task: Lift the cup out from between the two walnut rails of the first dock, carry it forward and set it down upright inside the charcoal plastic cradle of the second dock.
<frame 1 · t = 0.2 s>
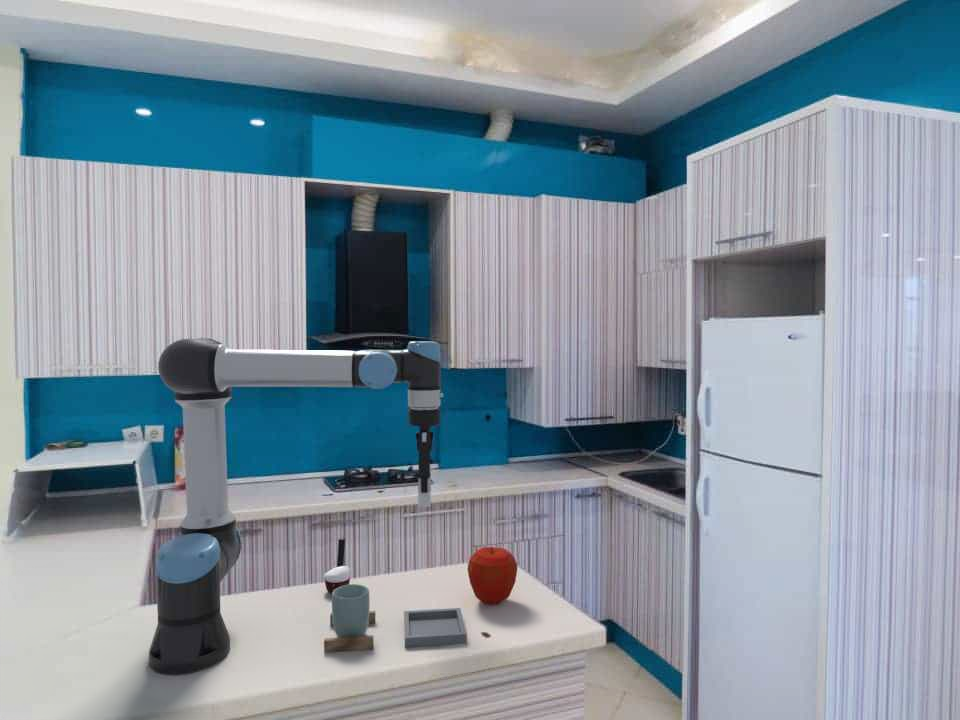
hand: (424, 498, 147), 27 cm above the counter, fingers open, 13 cm apart
cup: (351, 637, 137), on the counter
apple: (492, 603, 154), on the counter
dock b cradle: (434, 631, 140), on the counter
cocoa: (338, 592, 161), on the counter
dock a rails: (351, 636, 137), on the counter
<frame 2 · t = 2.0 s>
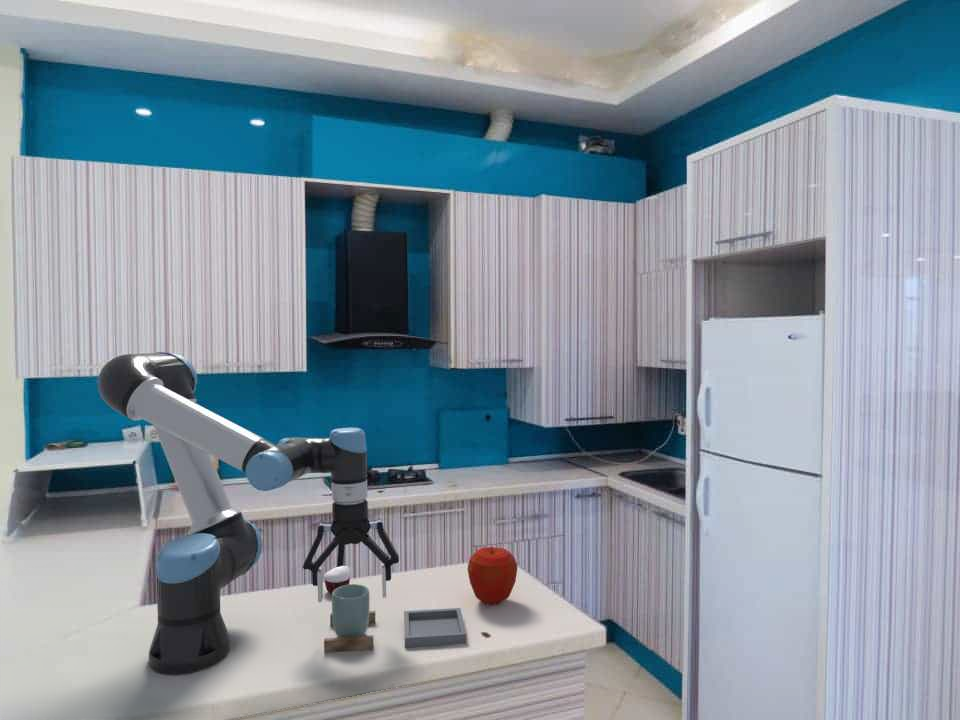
hand: (352, 597, 137), 9 cm above the counter, fingers open, 13 cm apart
nothing on the counter moved.
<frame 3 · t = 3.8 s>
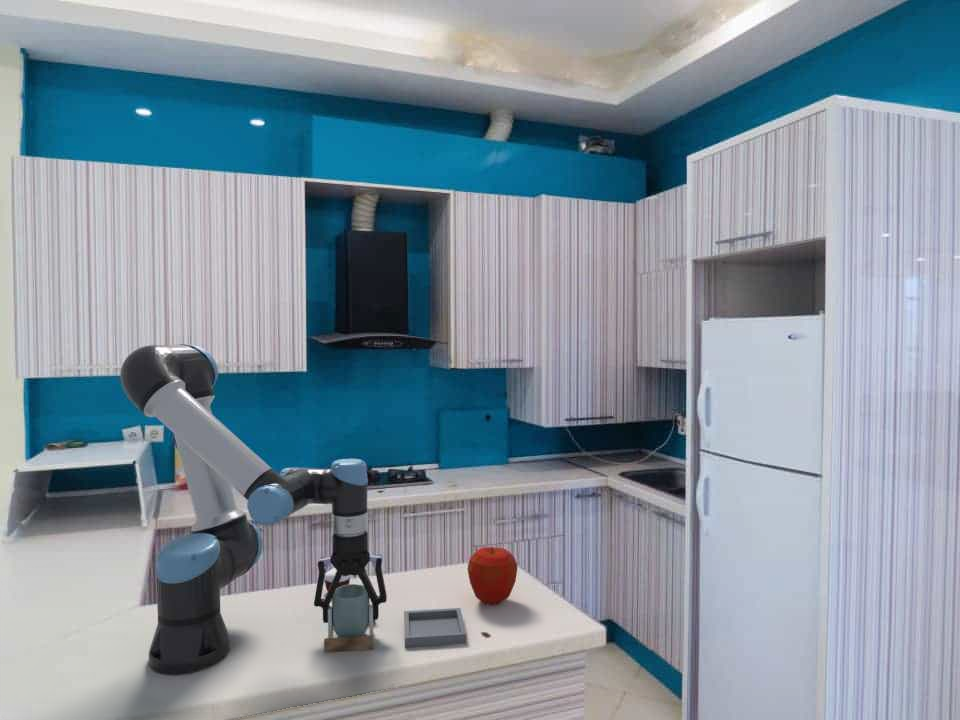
hand: (351, 635, 137), 0 cm above the counter, fingers closed on cup, 8 cm apart
cup: (351, 637, 137), on the counter, touching gripper
everything else where it was.
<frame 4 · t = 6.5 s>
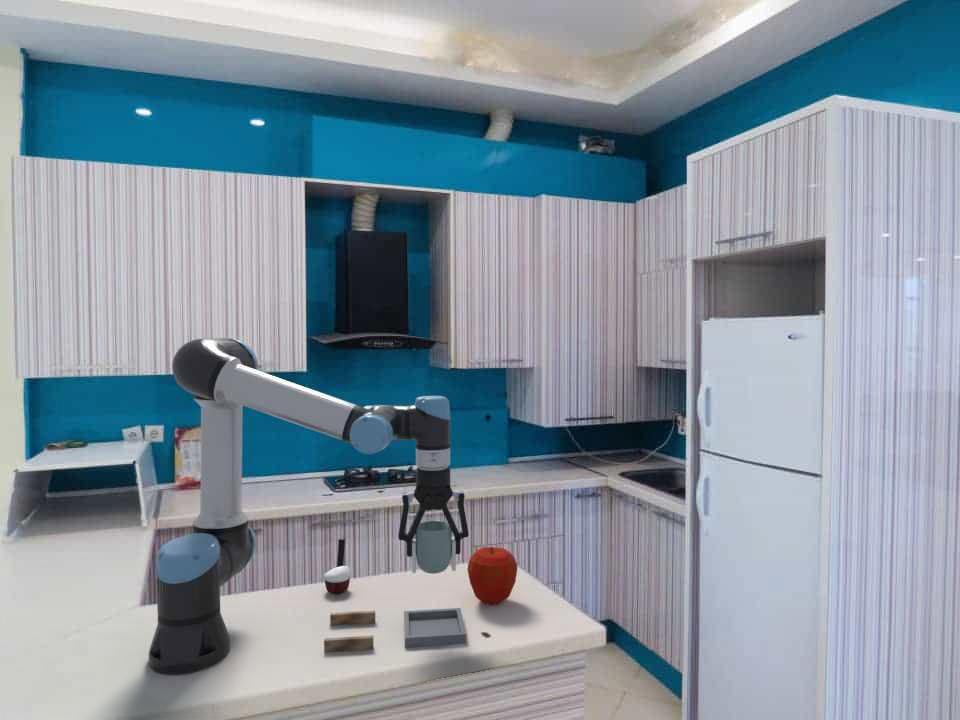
hand: (433, 569, 139), 14 cm above the counter, fingers closed on cup, 8 cm apart
cup: (433, 571, 139), point 13 cm above the counter, touching gripper
everything else where it was.
when the fingers open (3 cm above the counter, at t = 9.2 s): cup drops 2 cm, resting on dock b cradle.
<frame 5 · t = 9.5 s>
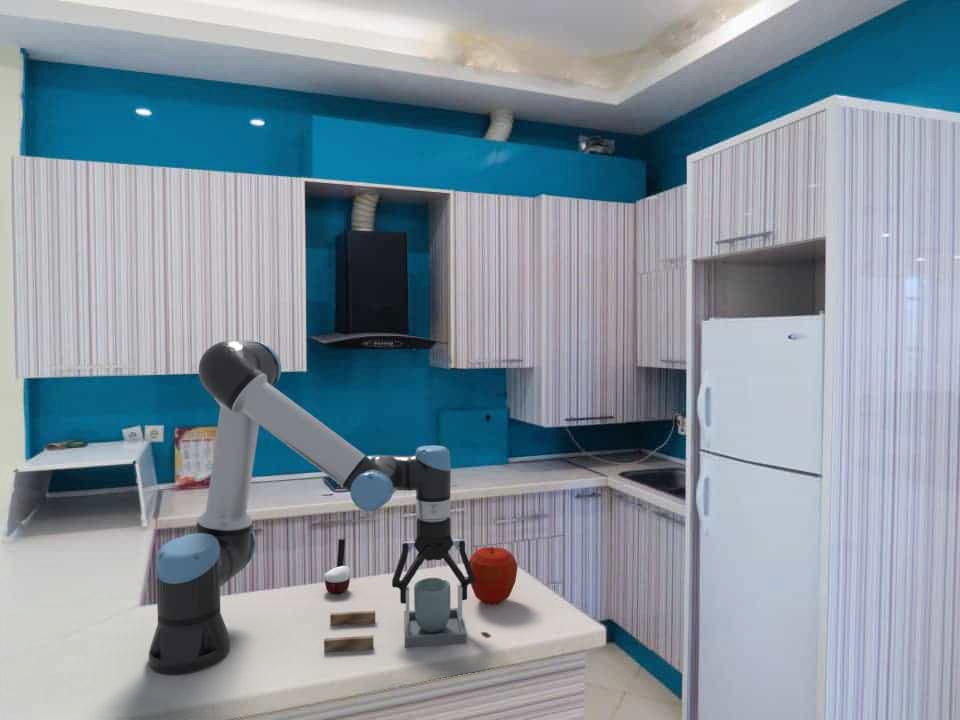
hand: (433, 615, 139), 3 cm above the counter, fingers open, 11 cm apart
cup: (432, 629, 139), resting on dock b cradle
everything else where it was.
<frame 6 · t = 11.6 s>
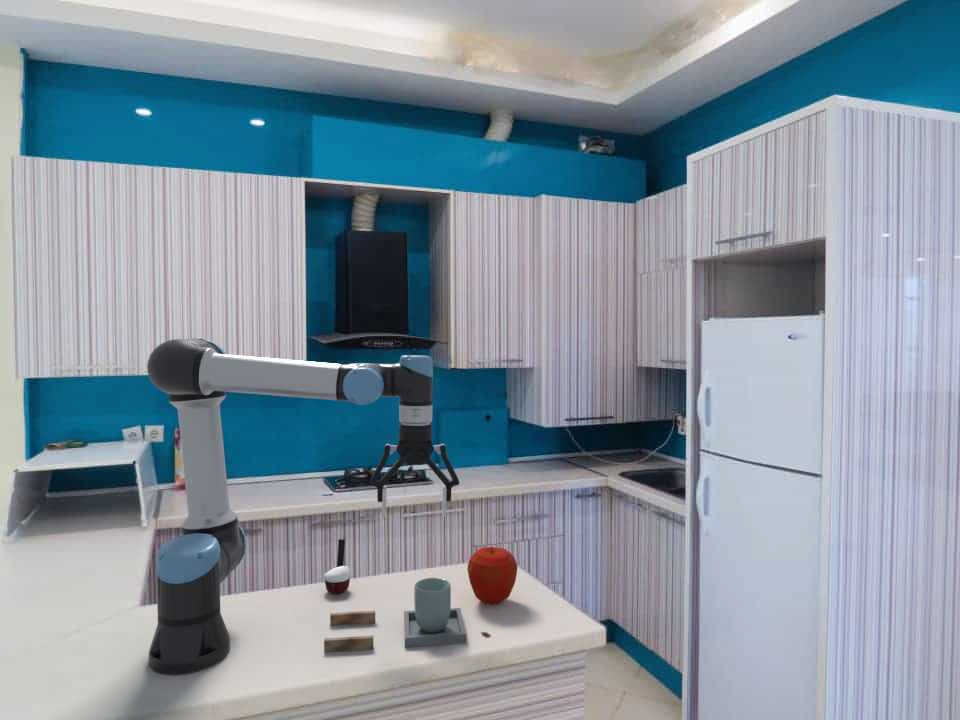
hand: (414, 515, 144), 24 cm above the counter, fingers open, 13 cm apart
nothing on the counter moved.
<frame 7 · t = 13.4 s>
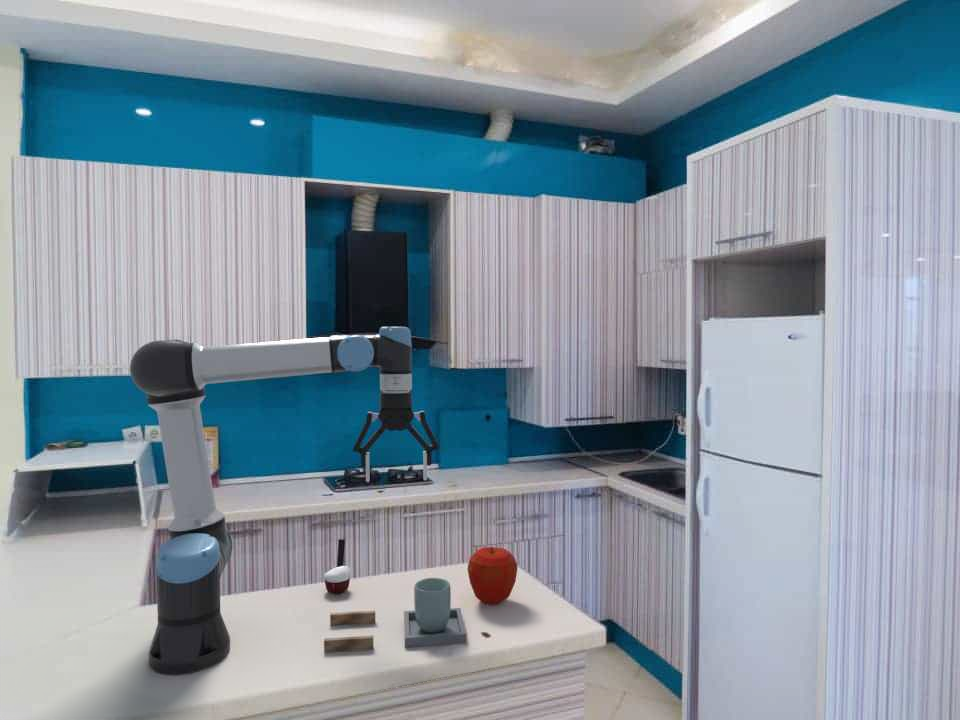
hand: (396, 480, 151), 31 cm above the counter, fingers open, 13 cm apart
nothing on the counter moved.
at the end: cup inside the target area on the dock b cradle (0.3 cm from its centre), point 0.3 cm above the dock b cradle's base; cup tilted 0°; the gripper is holding nothing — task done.
